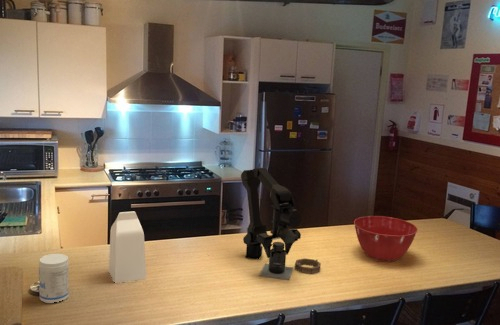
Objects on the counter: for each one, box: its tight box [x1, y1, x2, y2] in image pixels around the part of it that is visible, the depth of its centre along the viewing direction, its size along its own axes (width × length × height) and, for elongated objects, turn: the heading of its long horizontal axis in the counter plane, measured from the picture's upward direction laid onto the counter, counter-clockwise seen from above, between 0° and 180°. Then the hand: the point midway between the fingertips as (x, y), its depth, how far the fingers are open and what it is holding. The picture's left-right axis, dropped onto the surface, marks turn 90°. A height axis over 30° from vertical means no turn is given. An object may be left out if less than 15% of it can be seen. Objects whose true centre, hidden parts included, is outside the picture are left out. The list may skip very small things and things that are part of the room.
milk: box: [108, 211, 147, 284], centre depth 186 cm, size 12×12×26 cm
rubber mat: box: [259, 263, 294, 281], centre depth 199 cm, size 12×12×1 cm
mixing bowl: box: [353, 215, 419, 263], centre depth 222 cm, size 28×28×15 cm
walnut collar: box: [294, 257, 322, 275], centre depth 204 cm, size 10×10×3 cm
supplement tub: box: [38, 253, 70, 304], centre depth 166 cm, size 10×10×15 cm
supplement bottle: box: [268, 241, 287, 274], centre depth 198 cm, size 7×7×12 cm
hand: (277, 256), depth 198 cm, fingers open, 9 cm apart
